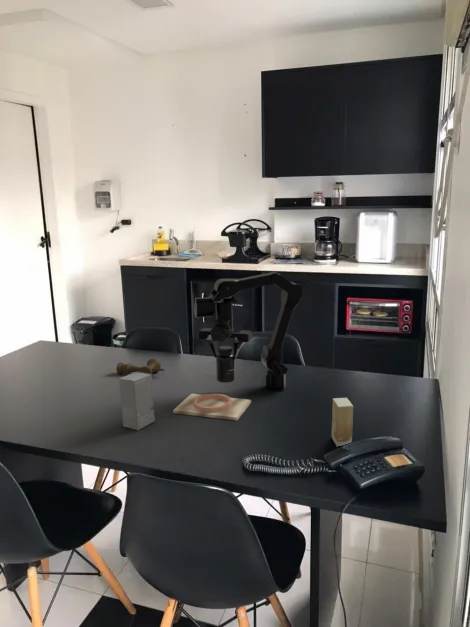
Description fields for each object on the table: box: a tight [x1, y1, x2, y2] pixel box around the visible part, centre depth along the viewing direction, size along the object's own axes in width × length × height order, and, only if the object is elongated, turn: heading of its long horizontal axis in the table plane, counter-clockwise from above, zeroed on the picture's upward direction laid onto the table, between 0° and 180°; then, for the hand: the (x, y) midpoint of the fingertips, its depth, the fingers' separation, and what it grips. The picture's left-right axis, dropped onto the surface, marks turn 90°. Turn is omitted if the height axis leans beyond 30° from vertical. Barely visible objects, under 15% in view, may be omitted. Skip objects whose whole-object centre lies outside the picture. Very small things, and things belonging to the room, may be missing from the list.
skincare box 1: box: [118, 371, 156, 431], centre depth 156 cm, size 8×7×16 cm
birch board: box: [172, 393, 252, 421], centre depth 169 cm, size 22×15×1 cm
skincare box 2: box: [331, 397, 354, 448], centre depth 142 cm, size 6×4×12 cm
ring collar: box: [194, 393, 232, 413], centre depth 169 cm, size 12×12×2 cm
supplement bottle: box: [215, 345, 236, 384], centre depth 180 cm, size 7×7×12 cm
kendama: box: [116, 358, 165, 378], centre depth 202 cm, size 6×10×20 cm
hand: (225, 358), depth 179 cm, fingers closed on supplement bottle, 7 cm apart
